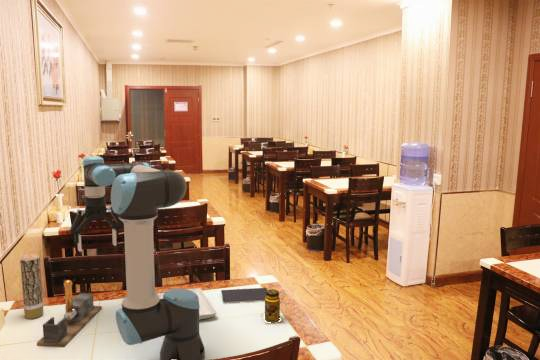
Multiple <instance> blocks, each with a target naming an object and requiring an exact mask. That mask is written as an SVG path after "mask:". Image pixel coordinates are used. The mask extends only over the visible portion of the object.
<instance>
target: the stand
mask: <svg viewBox="0 0 540 360" xmlns="http://www.w3.org/2000/svg"><path fill="white" fill-rule="evenodd" d="M72 301H73V308H77V315H76V316H74V317H73V318H72V319H71V320H70V321H67V320H66V318H64V317H63V318H62V319H61V320H60V321H59V322H57V324H55V317H54V316H51V317H50V318H49V319H48V320H47V321H46V322H44V323H43V324H42V334H43V335H42V337H41V338H40V339H39V340H38V341H37V342H36V347H37V346H38V347H56V348H58V347H59V348H65V347H66V346H67V345H68V344H69V343H70V342H71V341H72V340H73V339H74V338H75V337H76V336H77V335H78V334H79V333H80V332H81V330H83V329H84V328H85V326H86V325H88V323H89V322H91V320H92V319H94V317H95V316H97V314H99V312H100V311H101V310H102V309H103V306H102V305H94V293H85V292H84V293H83V292H80V293H79V294H78V295H77V296H75V297H74V298H72ZM64 309H66V305H65V308H64Z"/></svg>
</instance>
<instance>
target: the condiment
mask: <svg viewBox="0 0 540 360" xmlns="http://www.w3.org/2000/svg"><path fill="white" fill-rule="evenodd" d="M267 290H268V291H267V292H266V298H265V301H264V314H265V320H266V321H267V322H271V323H272V324H276V323H275V322H278V321H279V320H280V319H279V318H280V317H281V316H280V315H281V314H280V313H281V311H280V310H281V309H280V308H281V304H280V303H281V298H280V292H279V291H278V289H277V290H276V289H267ZM262 317H263V316H261V318H262ZM283 322H284V320H283V319H282V320H281V321H280V322H279V323H283Z"/></svg>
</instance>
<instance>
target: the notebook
mask: <svg viewBox="0 0 540 360" xmlns="http://www.w3.org/2000/svg"><path fill="white" fill-rule="evenodd" d="M268 290H269V289H268V288H267V287H259V288H256V287H255V288H254V287H253V288H242V289H241V288H237V289H234V288H233V289H221V290H220V291H221V297H222V302H223V304H224V303H225V305H227V304H226V303H229V304H241V303H240V302H245V303H255V302H254V301H262V302H265V298H266V292H267V291H268Z"/></svg>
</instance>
